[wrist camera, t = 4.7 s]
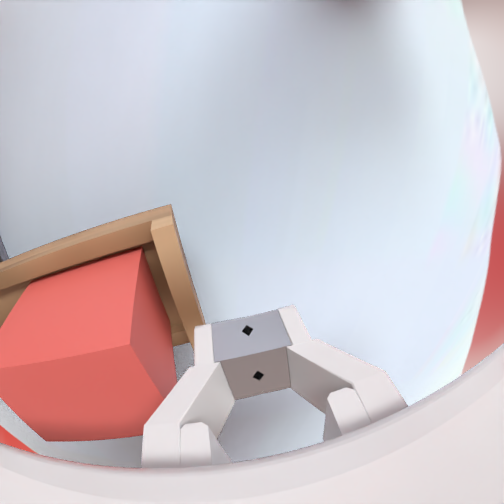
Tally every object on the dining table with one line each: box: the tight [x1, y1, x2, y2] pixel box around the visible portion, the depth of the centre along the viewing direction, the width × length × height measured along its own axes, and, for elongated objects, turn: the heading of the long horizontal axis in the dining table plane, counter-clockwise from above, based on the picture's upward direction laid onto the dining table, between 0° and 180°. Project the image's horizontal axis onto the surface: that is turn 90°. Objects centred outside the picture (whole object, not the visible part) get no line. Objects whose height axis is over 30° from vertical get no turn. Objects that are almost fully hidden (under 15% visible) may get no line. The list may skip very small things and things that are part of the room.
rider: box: [0, 246, 177, 441], centre depth 9 cm, size 4×6×6 cm, turn 100°
